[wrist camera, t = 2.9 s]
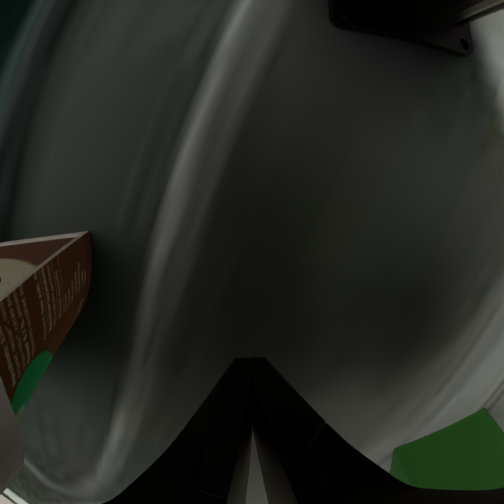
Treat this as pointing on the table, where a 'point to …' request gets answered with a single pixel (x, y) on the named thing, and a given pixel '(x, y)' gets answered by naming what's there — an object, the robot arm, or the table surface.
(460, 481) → the hardback book
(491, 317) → the table surface
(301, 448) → the robot arm
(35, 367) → the food container
